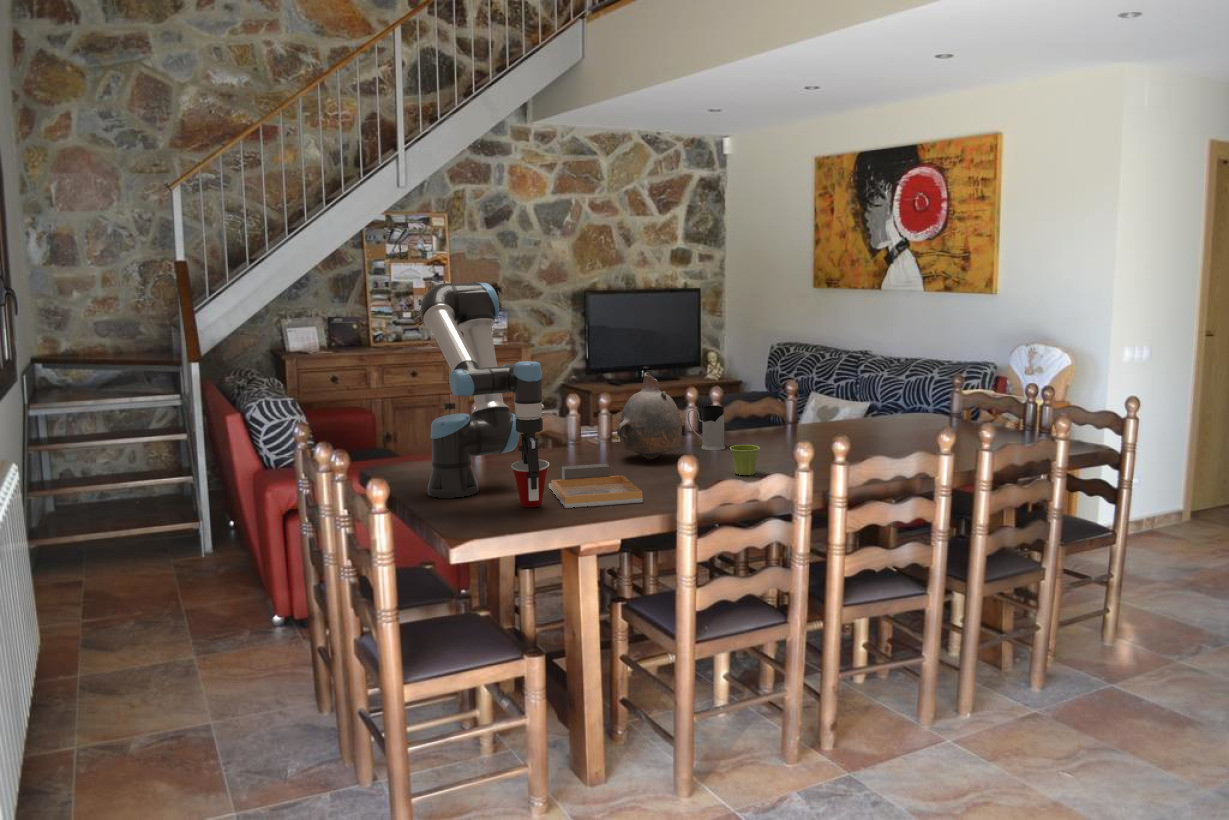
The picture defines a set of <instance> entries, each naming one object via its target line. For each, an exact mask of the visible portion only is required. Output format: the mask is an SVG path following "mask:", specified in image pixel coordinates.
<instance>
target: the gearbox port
mask: <svg viewBox="0 0 1229 820" xmlns="http://www.w3.org/2000/svg"><path fill="white" fill-rule="evenodd" d="M610 470H611V467H610V465H609V464H608V463H596V464H593V463H592V464H580V465H567V466H566V465H565V466H561V479H551V481H550V482H549V483H548V489H549V490H550V489H551V490H552V491H553V492H552V491H551V490H550V491H551V492H552V493H553V495H554V494H555V495H556V496H555V495H554V496H555V497H556V499H559V500H560V501H559V500H558V501H559V502H560V503H561V505H562V504H563V505H562V506H563V507H564V508H565V509H573V507H575V508H584V507H585V508H588V507H599V506H613V505H614V506H615V505H624V504H639V503H640V504H641V503H644V501H643V500H644V498H643V490H641V489H640V488H639V487H638V486H637V485H636V484H634V483H633V482H632V481H631V480H629V479H628V478H627V476H625V475H623V474H622V475H611V471H610ZM587 506H588V507H587Z"/></svg>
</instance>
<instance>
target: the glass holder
mask: <svg viewBox="0 0 1229 820" xmlns="http://www.w3.org/2000/svg"><path fill="white" fill-rule="evenodd" d="M724 410H725V408H724V406H722V405H705V406H702V420H701V418H700V413H699V411H698V410H697V409H695V408H693V409H690V410H689V411H688V412H687V422H688V424H689V427H690V430H691V431H692V432H693V433H694V434H695V435H696V436H697V437H699V438H700V440H701V442H702V445H701V450H706V451H720V450H721V449H722V450H726V446H725V412H724ZM692 411H694V412H696V413H697V417H698V418H697V420H698V421H699V422H701V423H702V430H701V431H702V436H701V435H700V434H698V432H697V431H695V429H694V428H693V427H692V425H691V422H690V412H692Z"/></svg>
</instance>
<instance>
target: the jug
mask: <svg viewBox="0 0 1229 820" xmlns="http://www.w3.org/2000/svg"><path fill="white" fill-rule="evenodd" d="M642 381H643V382H642V388H641V390H640V391H639V392H636V393H633V395H631V396H630V397H629V398H628V400H627V401H626V403H625V405H624V407H623V409H622V412H621V416H620V422H619V424H618V425H617V429H616V434H617V436H618V437H619V440H620V441H619V442H620V445H621V447H622V448H623V449H625V450H627V451H630V452H632V453H635V454H638V455H641V456H642V457H643V458H645V459H647V460H653V459H656V458H658V457H659V456H661V455H662V454H666V453H668V452H670V451H674V450H677V449H678V448H679V447H680V446H681V444H682V443H681V442H682V437H683V430H682V429H683V420H682V418H681V415H680V410H679V408H678V406H677V404H676V402H675V401H674V399H673V398H672V397H671V396H670V395H669V394H667V392H666V391H661V390H660V388H659V387H660V386H659V382H658V380H657V379H656V378H655V377H654V376H653V375H652V374H650V372H645V373H644V375H643V380H642Z"/></svg>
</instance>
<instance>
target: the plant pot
mask: <svg viewBox="0 0 1229 820" xmlns="http://www.w3.org/2000/svg"><path fill="white" fill-rule="evenodd" d="M729 449H730V451H731V456H732V459H733V461H732V462H733V468H734V474H735V473H736V474H737V475H738V474H739V475H738V476H740V475H749V476H753V474H754V475H755V474H756V472H755V471H756V464H757V458H758V455H759V451H760V449H761V448H760V446H758V445H753V444H737V445H732V446H730V447H729ZM736 474H735V475H736Z"/></svg>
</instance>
